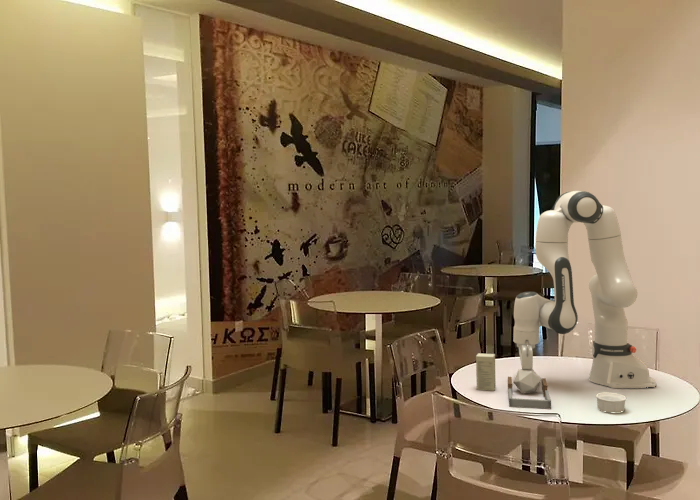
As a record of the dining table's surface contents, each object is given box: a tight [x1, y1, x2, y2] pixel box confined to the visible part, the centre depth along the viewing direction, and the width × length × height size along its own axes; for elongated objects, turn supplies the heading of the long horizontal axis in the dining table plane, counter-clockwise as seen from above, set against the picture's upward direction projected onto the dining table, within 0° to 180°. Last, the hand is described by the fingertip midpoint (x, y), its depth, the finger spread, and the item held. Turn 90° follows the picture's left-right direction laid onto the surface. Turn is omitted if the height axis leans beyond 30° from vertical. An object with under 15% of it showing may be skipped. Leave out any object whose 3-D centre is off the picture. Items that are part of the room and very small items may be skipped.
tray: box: [507, 387, 552, 410], centre depth 220 cm, size 13×11×2 cm
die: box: [512, 368, 542, 395], centre depth 231 cm, size 8×9×10 cm
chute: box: [507, 376, 549, 398], centre depth 230 cm, size 13×8×4 cm, turn 78°
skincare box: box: [475, 352, 497, 392], centre depth 234 cm, size 6×4×12 cm
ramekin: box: [595, 391, 627, 413], centre depth 212 cm, size 9×9×4 cm
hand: (525, 375), depth 240 cm, fingers closed
